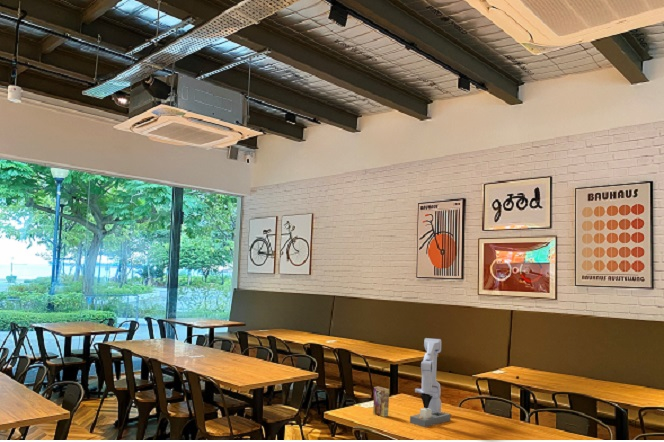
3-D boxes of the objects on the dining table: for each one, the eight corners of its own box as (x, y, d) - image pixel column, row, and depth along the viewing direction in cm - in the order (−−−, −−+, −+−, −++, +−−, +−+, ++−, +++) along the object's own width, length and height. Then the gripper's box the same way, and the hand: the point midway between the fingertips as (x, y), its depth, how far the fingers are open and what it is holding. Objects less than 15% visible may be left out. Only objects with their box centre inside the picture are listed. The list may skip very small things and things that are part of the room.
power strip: (436, 416, 302) (436, 409, 302) (450, 420, 294) (450, 413, 295) (410, 422, 286) (410, 415, 286) (424, 427, 278) (424, 419, 279)
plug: (425, 419, 289) (425, 407, 290) (431, 421, 286) (431, 409, 287) (419, 421, 285) (420, 409, 286) (425, 423, 283) (425, 410, 283)
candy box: (388, 416, 297) (389, 389, 299) (383, 417, 294) (384, 389, 296) (377, 412, 304) (378, 386, 305) (372, 413, 301) (373, 386, 303)
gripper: (412, 381, 291) (411, 406, 289) (433, 386, 280) (432, 411, 279) (419, 380, 295) (419, 404, 294) (440, 384, 285) (440, 410, 283)
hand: (426, 408), depth 287 cm, fingers closed
